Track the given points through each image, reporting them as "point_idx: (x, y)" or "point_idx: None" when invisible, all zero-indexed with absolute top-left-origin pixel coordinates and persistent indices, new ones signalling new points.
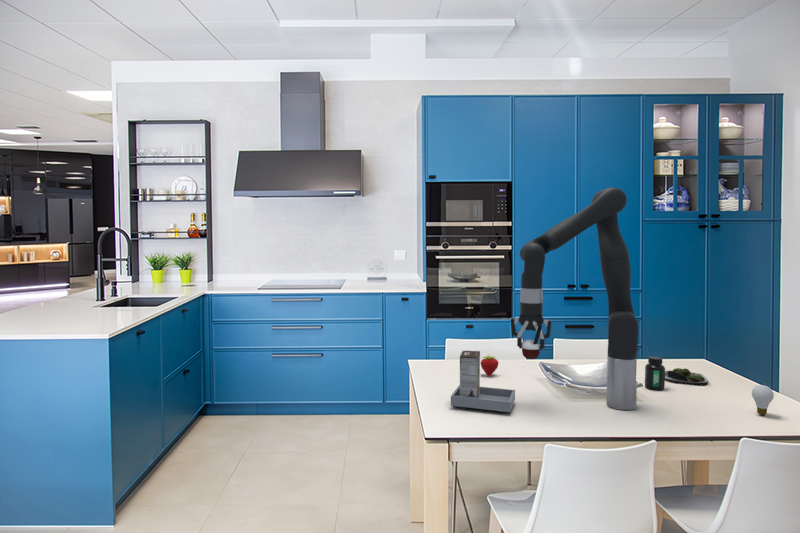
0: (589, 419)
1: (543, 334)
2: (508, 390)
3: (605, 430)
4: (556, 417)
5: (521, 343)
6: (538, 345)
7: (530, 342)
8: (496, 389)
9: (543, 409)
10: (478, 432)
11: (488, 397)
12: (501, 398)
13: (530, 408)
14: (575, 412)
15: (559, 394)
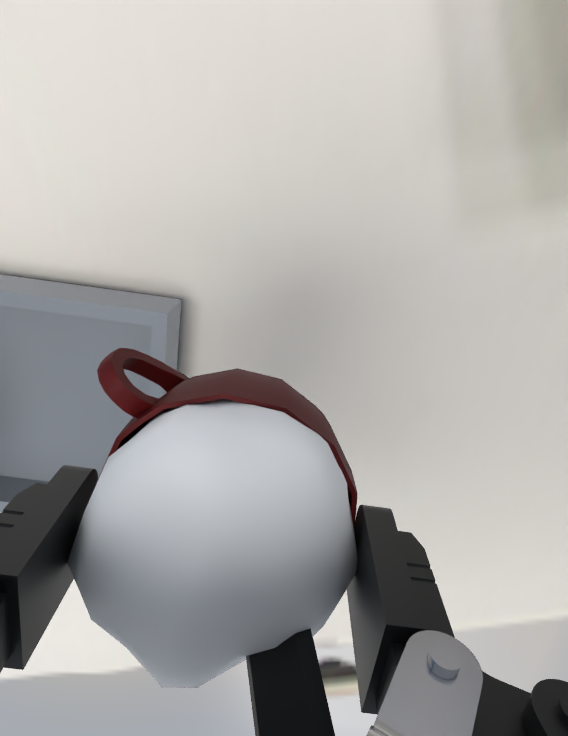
0: (535, 474)
1: (463, 734)
2: (125, 320)
3: (558, 577)
4: (384, 474)
5: (69, 566)
6: (328, 616)
7: (201, 684)
8: (46, 310)
9: (336, 379)
10: (71, 655)
11: (25, 342)
12: (101, 347)
13: (269, 375)
14: (495, 394)
15: (489, 52)
